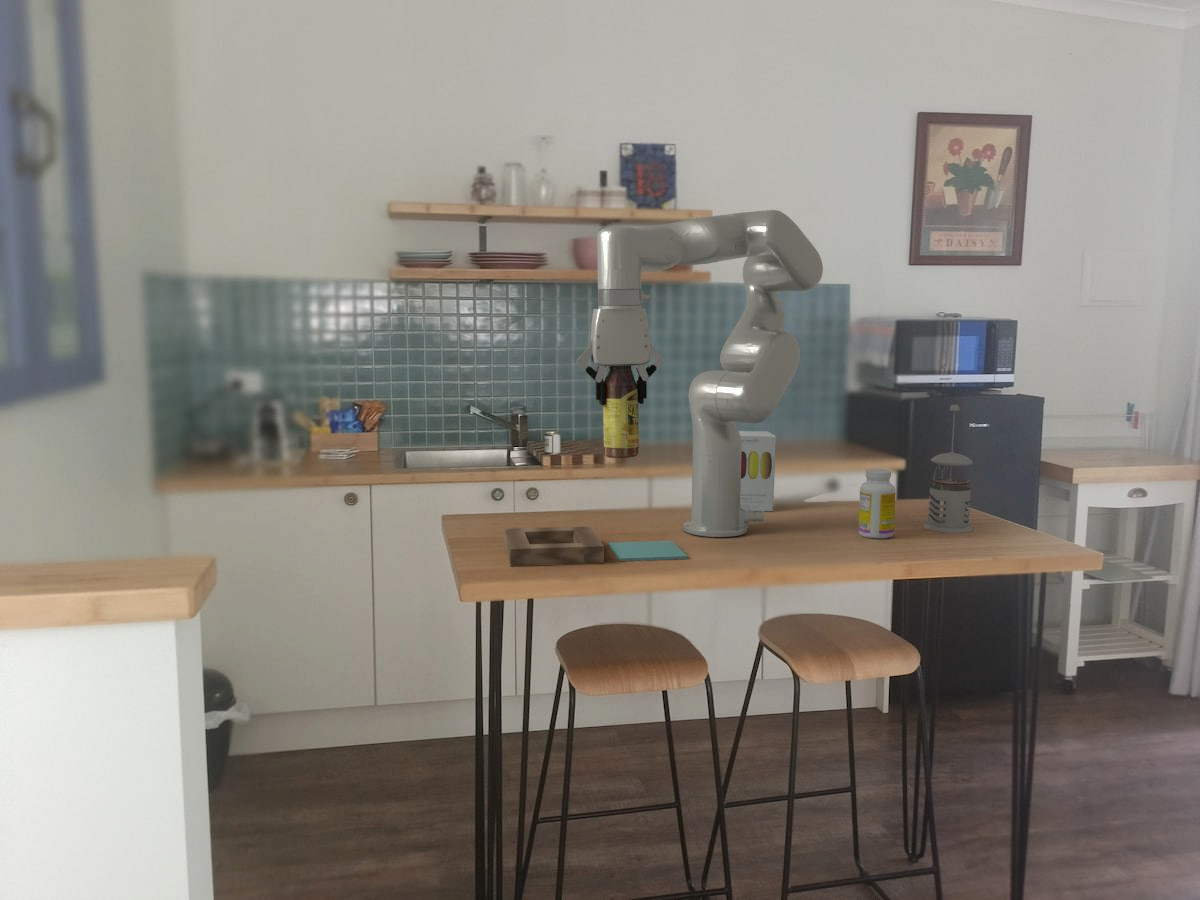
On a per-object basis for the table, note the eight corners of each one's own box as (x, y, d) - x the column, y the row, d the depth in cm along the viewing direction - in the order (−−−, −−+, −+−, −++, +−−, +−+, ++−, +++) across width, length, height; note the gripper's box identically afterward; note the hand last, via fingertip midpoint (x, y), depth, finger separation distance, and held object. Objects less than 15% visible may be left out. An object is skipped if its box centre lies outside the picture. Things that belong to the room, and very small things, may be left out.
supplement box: (730, 512, 213) (732, 435, 210) (724, 503, 222) (725, 430, 219) (774, 512, 213) (777, 435, 211) (766, 503, 222) (768, 430, 220)
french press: (932, 532, 193) (939, 406, 190) (912, 520, 205) (918, 401, 202) (981, 532, 194) (989, 407, 190) (958, 520, 205) (965, 401, 202)
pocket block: (589, 541, 184) (589, 526, 183) (604, 563, 168) (604, 546, 167) (504, 544, 181) (504, 528, 181) (510, 566, 165) (510, 549, 165)
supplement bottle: (896, 534, 192) (899, 469, 190) (890, 541, 186) (894, 474, 184) (861, 530, 195) (864, 466, 193) (855, 537, 189) (857, 471, 187)
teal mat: (671, 543, 183) (671, 540, 183) (687, 558, 171) (687, 556, 171) (608, 545, 181) (608, 542, 181) (620, 561, 169) (620, 558, 169)
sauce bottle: (635, 459, 170) (633, 344, 167) (600, 459, 171) (597, 345, 168) (642, 453, 176) (640, 342, 173) (608, 453, 178) (606, 343, 174)
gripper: (664, 299, 174) (665, 399, 177) (567, 301, 172) (570, 403, 175) (673, 299, 167) (673, 404, 170) (572, 301, 165) (574, 407, 168)
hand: (621, 402), depth 172 cm, fingers closed on sauce bottle, 6 cm apart
